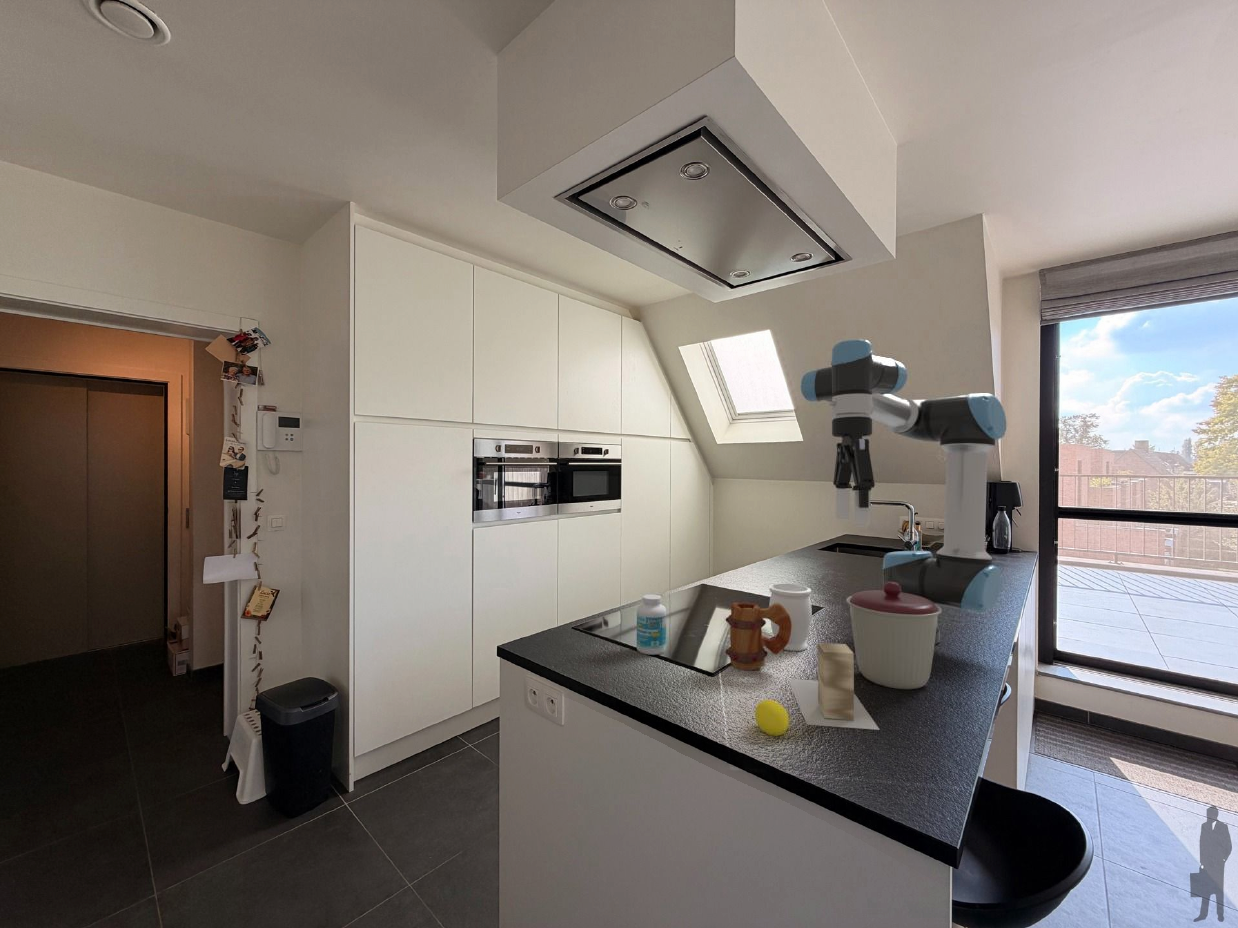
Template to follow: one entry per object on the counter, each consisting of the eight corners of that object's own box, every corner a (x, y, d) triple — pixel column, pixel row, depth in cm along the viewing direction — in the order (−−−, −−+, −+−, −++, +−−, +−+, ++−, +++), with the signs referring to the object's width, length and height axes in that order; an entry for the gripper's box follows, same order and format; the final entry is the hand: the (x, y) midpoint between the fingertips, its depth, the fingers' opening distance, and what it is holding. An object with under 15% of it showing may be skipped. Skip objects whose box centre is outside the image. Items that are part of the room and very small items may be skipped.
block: (845, 708, 96) (845, 644, 96) (853, 720, 91) (853, 653, 92) (818, 706, 97) (817, 642, 97) (824, 718, 92) (824, 651, 92)
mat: (846, 684, 108) (846, 682, 108) (879, 731, 88) (879, 729, 88) (787, 680, 110) (787, 678, 110) (807, 726, 90) (807, 724, 90)
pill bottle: (632, 653, 126) (632, 598, 127) (642, 644, 133) (642, 591, 133) (661, 657, 124) (661, 601, 124) (670, 647, 130) (670, 594, 131)
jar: (818, 653, 127) (817, 592, 127) (775, 653, 127) (775, 592, 127) (803, 639, 137) (803, 583, 137) (764, 639, 137) (764, 582, 138)
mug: (722, 670, 115) (722, 603, 116) (727, 658, 123) (727, 595, 123) (791, 680, 110) (791, 609, 111) (792, 666, 118) (792, 601, 118)
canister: (931, 707, 98) (930, 596, 98) (834, 680, 110) (833, 582, 110) (950, 679, 111) (949, 581, 111) (862, 658, 123) (861, 570, 124)
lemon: (796, 741, 86) (799, 711, 86) (769, 747, 84) (772, 716, 84) (770, 717, 93) (772, 689, 92) (745, 722, 91) (747, 693, 90)
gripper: (819, 423, 118) (819, 516, 118) (849, 410, 94) (849, 527, 93) (853, 422, 117) (854, 516, 116) (893, 409, 92) (894, 528, 92)
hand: (852, 521), depth 105 cm, fingers open, 12 cm apart
